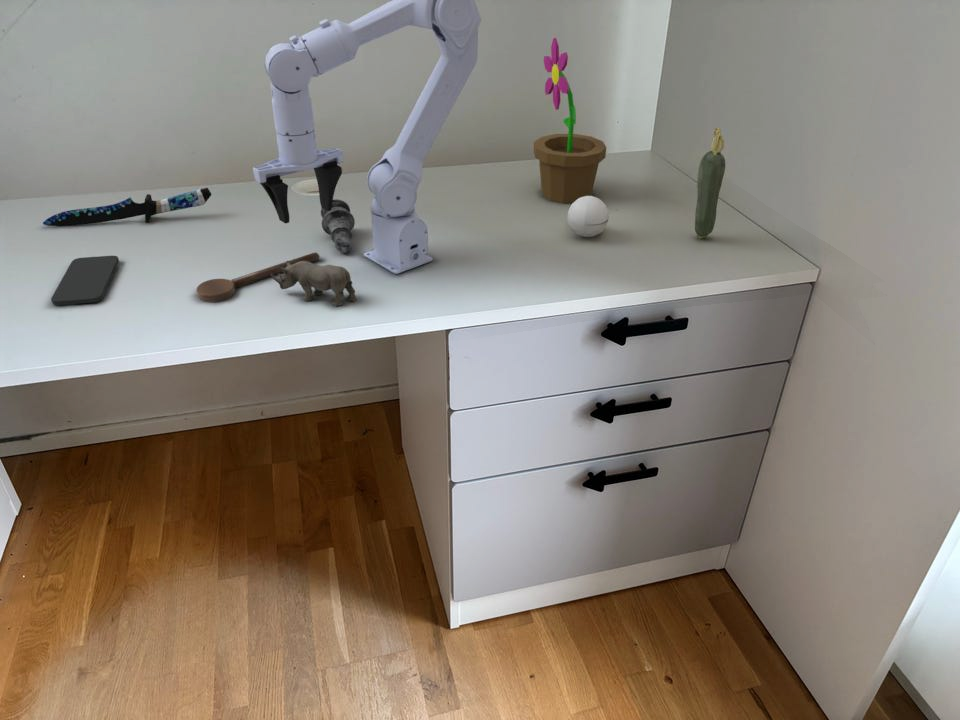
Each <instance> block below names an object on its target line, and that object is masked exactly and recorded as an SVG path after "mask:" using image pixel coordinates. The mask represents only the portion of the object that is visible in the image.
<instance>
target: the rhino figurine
mask: <svg viewBox="0 0 960 720" xmlns="http://www.w3.org/2000/svg"><path fill="white" fill-rule="evenodd" d="M289 261H290V260H286V261H285V262H286V266H287V267H286V268H281V267H279V269H280V271H281V273H278V274H277V275H278V277H277V276H275V275H273V274H271V276H270V277H271V278H272V279H273V280H274V282H276V283H278V285H279V288H280V289H281V290H286V289H290V288H292V287H294V286H295V285H296V284H297V283H299V285H300V286H301V288H302V290H303V291H304V293H305V295H304V296H303V298H302V300H303V301H304V302H310V301H312V300H313V299H314V296H319V295H322V294H323V292H325V291H330V290H331V291H332V292H333V293H334V294H335V297H334V299H333V300H332V301H331V305H332V306H334V307H338V306H342V305H343V303H344V302H343V299H344V298H345V293H344V291H345V290H346V291H347V294H348V295H347V298H346V300H347V301H348V302H355V301H357V299H358V298H357V295H356V294H355V293H356V290H355V288H354V287H353V281H352V278H351V275H350V272H349V271H348V270H347V268H345V267H343V266H339V265H333V264H325V265H320V264H315V263H313V262H311V263H310V262H307V261H300V262H297V263H295V264H293V265H291V264H290V263H289ZM282 273H284V274H282ZM312 288H313V289H314V290H313V289H312ZM313 291H314V292H313ZM313 295H314V296H313Z"/></svg>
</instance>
